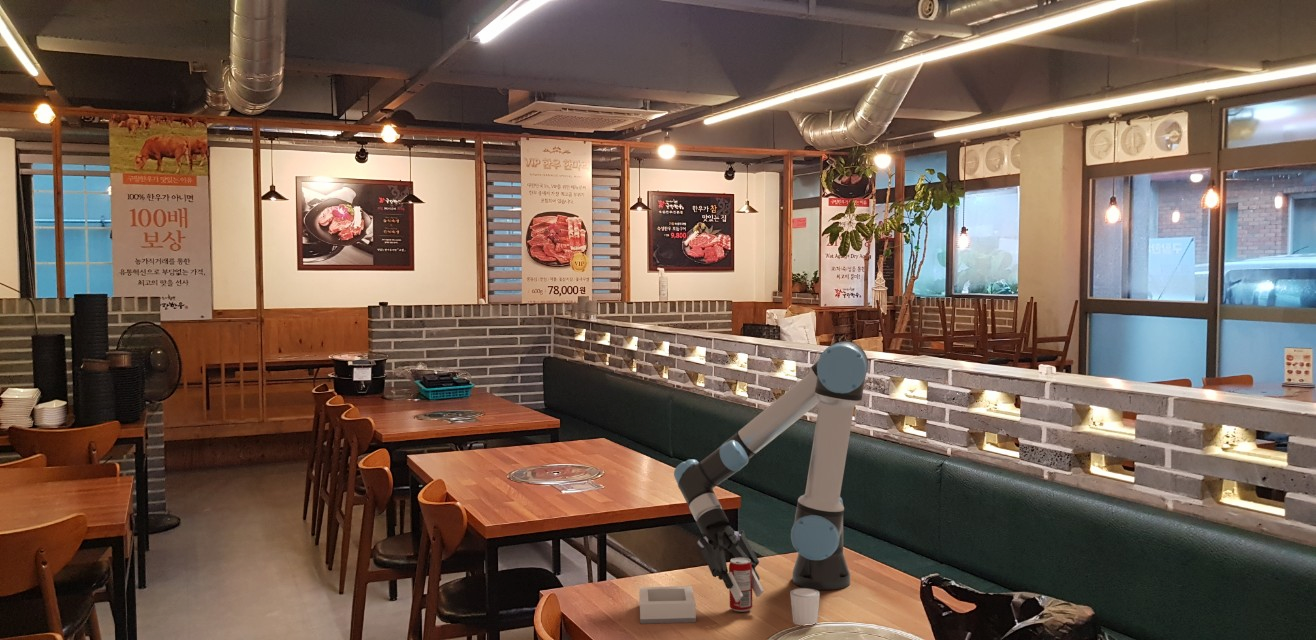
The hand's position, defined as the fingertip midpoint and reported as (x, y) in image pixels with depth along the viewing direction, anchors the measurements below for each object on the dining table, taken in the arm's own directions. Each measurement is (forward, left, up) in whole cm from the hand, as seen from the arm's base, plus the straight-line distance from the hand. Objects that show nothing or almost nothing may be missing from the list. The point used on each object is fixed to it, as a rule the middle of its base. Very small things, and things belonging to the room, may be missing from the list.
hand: (750, 596), depth 229 cm
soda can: (+2, -3, -4) cm, 6 cm away
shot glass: (-12, +6, -5) cm, 14 cm away
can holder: (+20, -2, -4) cm, 21 cm away
